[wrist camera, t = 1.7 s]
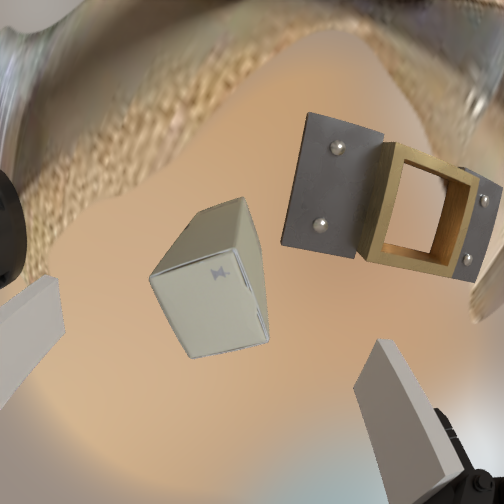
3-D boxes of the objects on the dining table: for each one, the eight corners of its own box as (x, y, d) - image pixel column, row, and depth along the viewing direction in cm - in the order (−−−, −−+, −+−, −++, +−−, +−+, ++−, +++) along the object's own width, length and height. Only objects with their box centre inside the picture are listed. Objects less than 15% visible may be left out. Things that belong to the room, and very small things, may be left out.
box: (195, 211, 24) (139, 271, 12) (245, 194, 24) (235, 240, 12) (217, 267, 26) (187, 364, 14) (265, 253, 25) (273, 345, 13)
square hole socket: (280, 241, 25) (284, 255, 22) (306, 113, 21) (315, 107, 18) (469, 279, 26) (487, 292, 23) (497, 186, 23) (518, 191, 19)
